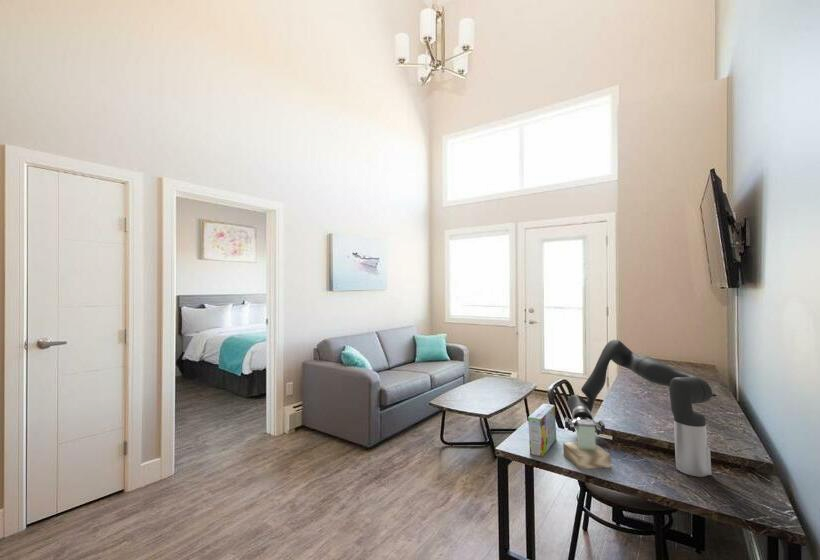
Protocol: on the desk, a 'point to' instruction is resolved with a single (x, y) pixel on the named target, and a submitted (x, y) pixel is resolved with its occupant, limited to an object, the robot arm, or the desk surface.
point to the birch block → (586, 456)
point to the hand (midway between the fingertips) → (585, 431)
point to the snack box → (542, 429)
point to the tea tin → (586, 435)
